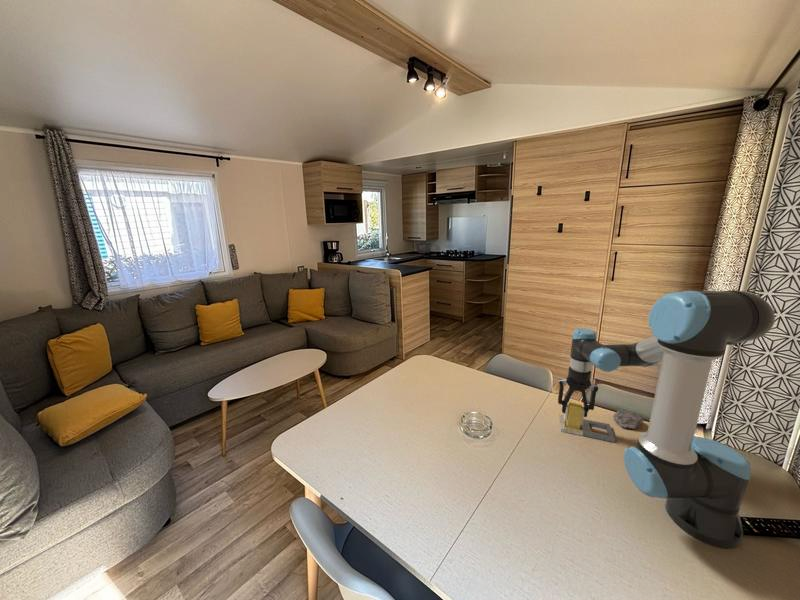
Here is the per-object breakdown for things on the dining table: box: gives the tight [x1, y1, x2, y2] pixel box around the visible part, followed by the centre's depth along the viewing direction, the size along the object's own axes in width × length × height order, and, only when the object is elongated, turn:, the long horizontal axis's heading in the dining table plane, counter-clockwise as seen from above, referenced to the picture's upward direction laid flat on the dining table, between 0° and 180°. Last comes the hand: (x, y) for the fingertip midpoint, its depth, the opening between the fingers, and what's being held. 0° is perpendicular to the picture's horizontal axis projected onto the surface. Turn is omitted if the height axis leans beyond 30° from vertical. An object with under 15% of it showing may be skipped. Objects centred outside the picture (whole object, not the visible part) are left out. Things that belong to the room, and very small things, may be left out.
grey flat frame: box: [558, 414, 616, 443], centre depth 124 cm, size 10×18×1 cm, turn 67°
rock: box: [612, 409, 644, 430], centre depth 127 cm, size 9×11×4 cm
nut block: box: [565, 400, 584, 430], centre depth 124 cm, size 4×4×10 cm
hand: (573, 421), depth 125 cm, fingers open, 5 cm apart
